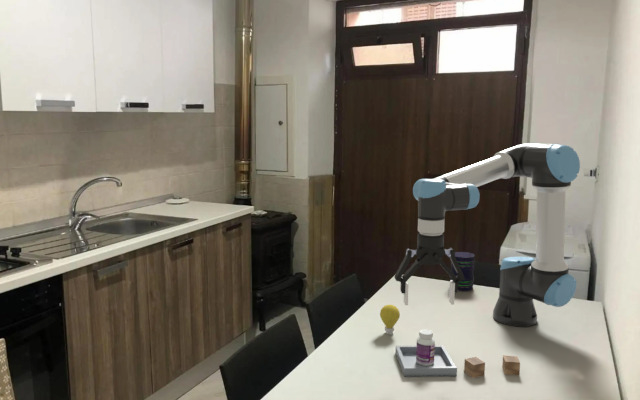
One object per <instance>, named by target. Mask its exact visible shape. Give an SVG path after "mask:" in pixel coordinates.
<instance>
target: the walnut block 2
mask: <svg viewBox="0 0 640 400" xmlns="http://www.w3.org/2000/svg"><path fill="white" fill-rule="evenodd" d="M501 367H502V371H503V374H504V375H506V376H507V375H509V376H520V370H521V369H520V368H521V361H520V360H519V357H518V356H515V355H506V354H505V355H502V366H501Z"/></svg>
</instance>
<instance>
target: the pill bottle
mask: <svg viewBox="0 0 640 400" xmlns="http://www.w3.org/2000/svg"><path fill="white" fill-rule="evenodd" d="M416 345H417V349H416V362H417V363H418V364H420V365H422V366H430V365H432V364H433V363H434V354H435V345H436V340H435V339H434V332H433V331H432V330H430V329H425V328H424V329H420V330H419V332H418V337H417V338H416Z"/></svg>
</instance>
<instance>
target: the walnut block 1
mask: <svg viewBox="0 0 640 400" xmlns="http://www.w3.org/2000/svg"><path fill="white" fill-rule="evenodd" d="M463 364H464V366H463V372H464V373H465V374H467V376H470V377H471V378H472V379H474V378H479V377H484V376H485V374H486V373H485V371H486V362H484V361H483V360H482V359H480V358H479V357H477V356H474V357H469V358H464V362H463Z"/></svg>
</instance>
